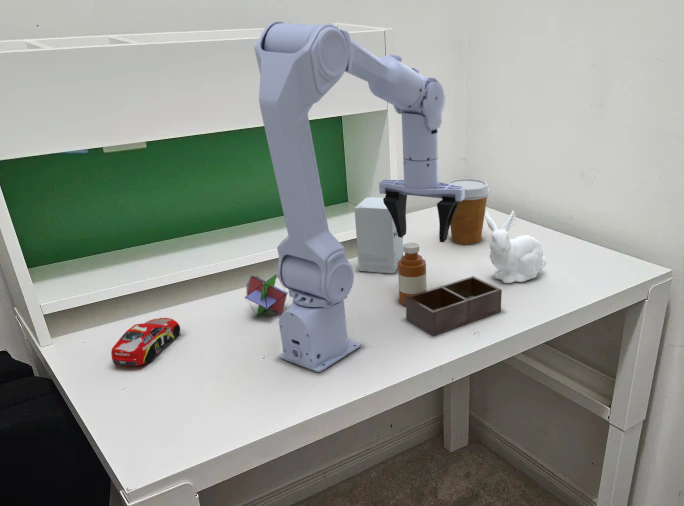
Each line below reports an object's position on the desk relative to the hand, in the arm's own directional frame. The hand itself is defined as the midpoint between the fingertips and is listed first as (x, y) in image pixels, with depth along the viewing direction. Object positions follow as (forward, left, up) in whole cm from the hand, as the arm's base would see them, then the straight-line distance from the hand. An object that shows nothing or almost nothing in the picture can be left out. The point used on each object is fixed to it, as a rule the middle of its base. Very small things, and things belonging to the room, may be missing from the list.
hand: (422, 238), depth 114 cm
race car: (-40, +23, -10) cm, 48 cm away
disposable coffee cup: (+28, +8, -10) cm, 31 cm away
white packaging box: (+6, +14, -10) cm, 19 cm away
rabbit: (+15, -10, -10) cm, 21 cm away
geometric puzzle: (-21, +17, -10) cm, 29 cm away
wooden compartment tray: (-5, -10, -10) cm, 15 cm away
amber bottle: (-4, 0, -10) cm, 11 cm away
